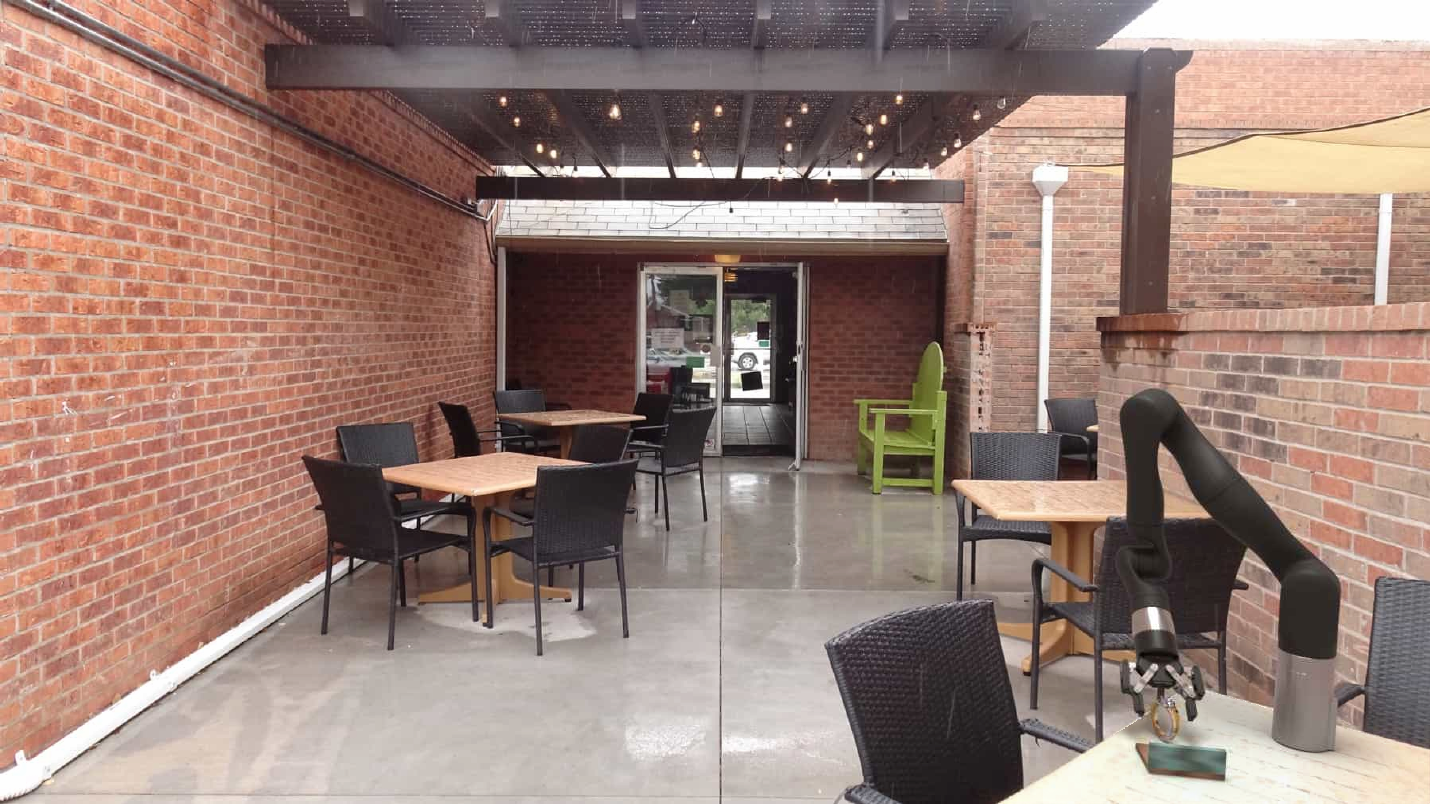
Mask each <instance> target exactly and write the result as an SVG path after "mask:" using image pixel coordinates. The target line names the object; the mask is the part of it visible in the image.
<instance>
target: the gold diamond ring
mask: <svg viewBox="0 0 1430 804" xmlns="http://www.w3.org/2000/svg"><path fill="white" fill-rule="evenodd" d="M1159 697H1160V698H1159V700H1158V699H1157V700H1155V701H1152V702H1151V704H1150V708H1149V711H1150V713H1149V715H1150V719H1151V720H1150V721H1151V723H1152V726H1153V729H1154V731H1155V733H1156V734H1157V736H1158V737H1159V739H1160V740H1161V741H1173V740H1174V739H1175V738H1176V737H1177V735H1178V733H1179V729H1180V726H1181V725H1180V723H1181V719H1180V714H1179V711H1178V708H1177V707H1176V702H1175V701H1174V700H1172V698H1171V697H1170V696H1167V699H1166V698H1165V697H1163V695H1160V696H1159ZM1160 706H1162V708H1164V709H1165V710H1166V711H1167V713H1168V715H1169V717H1170V721H1171V729H1170V730H1171V731H1170V733H1169V734H1168V735H1167V734H1166V733H1164V732H1163V731H1162V729H1161V727H1160V724H1159V720H1158V712H1159V711H1158V710H1159V708H1160Z"/></svg>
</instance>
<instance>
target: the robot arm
mask: <svg viewBox="0 0 1430 804" xmlns="http://www.w3.org/2000/svg"><path fill="white" fill-rule="evenodd" d="M1119 409H1120V410H1119V413H1118V414H1119V426H1120V433H1121V434H1120V435H1121V439H1122V446H1123V454H1124V463H1125V474H1126V475H1125V476H1126V477H1125V478H1126V502H1125V503H1126V505H1125V508H1126V509H1125V510H1126V512H1125V529H1126V533H1127V534H1128V535H1130V536H1131V537H1132V538H1136V539H1140V540H1144V541H1148V542H1150V543H1152V545H1151V546H1150V545H1124V546H1122V547H1120V548H1118V550H1117V552H1116V554H1115V556H1114V557H1115V558H1114V564H1115V568H1116V571H1117V574H1118V575H1119V578H1120V580H1121V581H1122V583H1123V585H1124V588H1125V590H1126V593H1127V595H1128V599H1129V603H1130V611H1131V618H1132V619H1131V620H1132V621H1131V629H1132V633H1131V634H1132V638H1133V643H1134V652H1135V659H1136V662H1132V661H1129V660H1128V659H1126V658H1123V659H1122V661H1121V662H1120V664H1119V678H1120V679H1119V681H1120V692H1121V693H1122V694H1123V695H1125V694H1127V695H1129V696H1131V698H1132V704H1133V711H1134V713H1135V714H1137V716H1138V717H1139V718H1143V717H1144V716H1145V714H1146V713H1145V711H1146V710H1145V703H1144V696H1143V691H1144V690H1145V689H1146V688H1147V686H1150V687H1151V688H1154V689H1159V688H1161V689H1165V690H1170V689H1172V690H1173V691H1174V692H1175V693H1176V694H1177V695H1180V697H1181V698H1182V699H1184V701H1185V702H1184V706H1185V707H1184V708H1185V712H1186V718H1187V722H1189V723H1191V722H1194V720H1195V719H1196V718H1197V717H1198V713H1199V712H1198V708H1197V702H1196V701H1198V702H1199V701H1200V702H1201V701H1202V700H1203V698H1204V697H1205V695H1206V690H1205V686H1204V681H1203V676H1202V673H1201V669H1200V666H1199V665H1197V664H1193V665H1192V667H1191V666H1183V665H1182V663H1181V661H1180V654H1179V647H1178V642H1177V636H1176V631H1175V624H1174V622H1173V618H1172V613H1171V609H1170V604H1169V597H1168V593H1167V591H1166V589H1164V587H1162V586H1160V585H1157V584H1155V583H1151V582H1164V581H1166V580H1167V579H1168V578H1169V577H1170V576H1171V574H1172V572H1173V563H1172V559H1171V555H1170V551H1169V548H1168V544H1167V540H1166V535H1165V525H1164V524H1165V494H1164V488H1163V485H1162V481H1161V477H1160V473H1159V464H1158V463H1159V462H1158V461H1159V460H1158V459H1159V456H1158V455H1159V448H1160V444H1161V445H1162V446H1163V447H1164V448H1165V449H1166V450H1167V451H1168V452H1169V453H1170V454H1171V456H1172V457H1173V458H1174V459H1175V461H1176V463H1177V464H1178V466H1179V468H1180V470H1181V473H1182V475H1183V477H1184V479H1185V482H1186V484H1187V486H1188V488H1189V489H1190V492H1191V494H1192V495H1193V497H1194V498H1195V500H1196V502H1198V504H1199V505H1200V506H1201V507H1202V508H1203V510H1204V511H1205V512H1206V513H1207V514H1208V515H1209V516H1210V517H1211V518H1212V519H1213V520H1214V522H1215V523H1217V525H1219V526H1220V528H1221V529H1223V531H1226V532H1227V533H1228V534H1229V535H1231V537H1233V538H1234V539H1236V540H1237V541H1238V542H1240V543H1241V544H1242V545H1244V546H1245V547H1246V548H1248V549H1249V550H1250V551H1252V552H1253V553H1254V554H1255V555H1256V556H1257V557H1258V558H1259V559H1260V560H1261V561H1262V562H1263V564H1264V565H1265V566H1266V567H1267V568H1268V569H1269V570H1270V572H1271V574H1273V576H1274V577H1275V579H1276V580H1277V581H1278V582H1279V584H1280V591H1279V603H1278V604H1279V605H1278V606H1279V607H1278V608H1279V609H1278V625H1277V651H1276V653H1277V654H1276V655H1277V656H1276V665H1275V678H1274V679H1275V683H1274V697H1273V709H1272V712H1273V713H1272V723H1271V727H1272V728H1271V737H1272V739H1274V740H1275V741H1276V742H1277V743H1279V744H1281V745H1284V746H1286V747H1288V748H1291V749H1292V748H1293V749H1295V750H1299V751H1306V752H1311V753H1312V752H1313V753H1314V752H1315V753H1317V752H1325V751H1335V748H1336V747H1335V745H1336V735H1337V733H1336V732H1337V720H1338V708H1339V707H1338V706H1339V705H1338V704H1339V700H1338V698H1337V697H1335V694H1334V692H1335V677H1336V661H1337V651H1338V643H1339V642H1338V641H1339V639H1338V638H1339V623H1340V612H1341V609H1340V608H1341V596H1342V585H1341V581H1340V580H1339V578H1338V575H1336V573H1335V571H1333V569H1331V567H1329V566H1328V565H1327V564H1326V563H1324V562H1323V561H1322V560H1321V559H1320V558H1319V557H1317V556H1316V555H1315V554H1314V553H1313V552H1312V551H1311V550H1310V549H1309V548H1307V547H1306V546H1305V545H1304V544H1303V543H1302V542H1300V541H1299V540H1298V539H1297V537H1296V536H1295V535H1294V534H1292V532H1291V531H1290V530H1289V529H1288V528H1287V526H1286V525H1285V523H1283V521H1282V520H1281V519H1280V517H1279V515H1277V514H1276V513H1275V511H1274V510H1273V509H1272V508H1271V507H1270V505H1269V504H1268V503H1267V502H1266V501H1265V499H1264V498H1263V497H1262V496H1261V494H1259V492H1258V491H1257V490H1256V489H1255V488H1254V487H1253V486H1252V484H1251V483H1249V481H1248V480H1247V479H1246V478H1245V477H1244V476H1243V475H1242V474H1241V472H1239V471H1238V470H1237V469H1236V468H1235V467H1234V466H1233V465H1232V464H1231V463H1230V462H1229V461H1228V459H1226V458H1225V456H1223V454H1222V453H1221V452H1220V451H1219V450H1218V448H1216V447H1215V446H1214V445H1213V444H1212V443H1211V442H1210V440H1208V438H1207V437H1206V436H1205V435H1204V434H1203V433H1202V432H1201V431H1200V428H1198V427H1197V426H1196V424H1195V423H1194V421H1193V420H1192V419H1191V418H1190V416H1189V414H1188V413H1187V412H1186V411H1185V410H1184V407H1183V406H1182V405H1181V404H1180V403H1179V402H1178V400H1177V399H1176V398H1175V397H1174V396H1173V395H1172V394H1170V392H1167V391H1166V390H1164V389H1161V388H1157V387H1152V388H1146V389H1144V390H1141V391H1140V392H1137V393H1136V394H1133V395H1132V396H1130V397H1129V398H1127V399H1126V400H1125V401H1124V402H1123V404H1122V405H1121V407H1120V408H1119ZM1134 670H1135V671H1136V673H1137V674H1138V675H1139V676H1140V677H1141V678H1140V679H1139V681H1138V682H1137V684H1136V685H1135V686H1134V685H1131V677H1130V675H1132V674H1133V671H1134ZM1183 675H1185V676H1186V677H1187V679H1188V680H1190V682H1191V686H1192V688H1191V687H1190V686H1189V684H1188V683H1187V681H1185V680H1184V678H1182V676H1183Z"/></svg>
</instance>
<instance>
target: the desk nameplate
mask: <svg viewBox="0 0 1430 804" xmlns="http://www.w3.org/2000/svg"><path fill="white" fill-rule="evenodd" d="M1135 750H1136V752H1137V754H1138V755H1139V758H1140V759H1141V760H1142V763H1143V765H1144V767H1145V768H1146V770H1147V772H1148V773H1149V774H1154V775H1163V776H1165V775H1166V776H1173V777H1174V776H1175V777H1184V778H1194V779H1195V778H1196V779H1202V780H1203V779H1205V780H1215V781H1223V782H1225V781H1226V774H1227V773H1226V772H1227V771H1226V769H1227V758H1228V757H1227V755H1228V753H1227V750H1226V749H1225V748H1217V747H1205V746H1195V745H1185V744H1174V743H1163V742H1155V741H1154V742H1151V741H1149V742H1148V743H1143V742H1135Z"/></svg>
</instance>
